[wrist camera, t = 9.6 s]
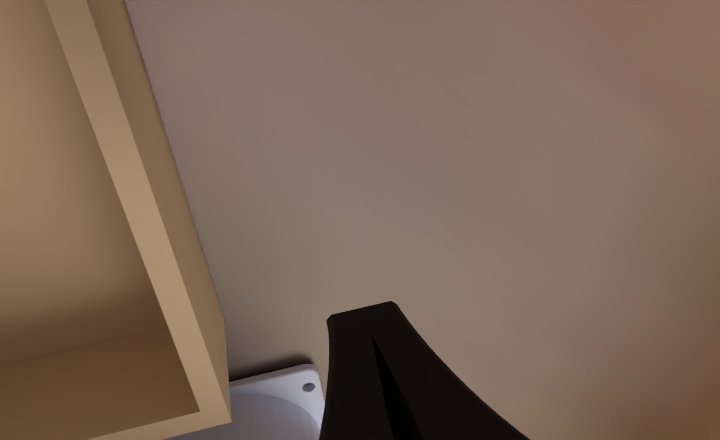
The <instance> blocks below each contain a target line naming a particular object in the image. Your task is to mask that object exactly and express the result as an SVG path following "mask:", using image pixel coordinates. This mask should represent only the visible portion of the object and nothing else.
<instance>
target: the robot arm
mask: <svg viewBox="0 0 720 440" xmlns="http://www.w3.org/2000/svg"><path fill="white" fill-rule="evenodd" d="M326 321H327V326H328V333H329V372H328V381H327V391H326V400H325V402H324V397H323V393H322V388H321V384H320V379H319V375H318V370H317V368H316V367H315V366H314V365H312V364H302V365H298V366H294V367H290V368H286V369H282V370H277V371H273V372H269V373H265V374H261V375H257V376H253V377H249V378H245V379H240V380H236V381H232V382H229V391H230V405H231V419H232V422H230V423H226V424H222V425H218V426H214V427H210V428H206V429H202V430H198V431H194V432H190V433H186V434H182V435H178V436H174V437H170V438H166V439H162V440H530V439H529V438H527V437H526V436H525V435H523V434H522V433H521V432H519V431H518V430H517V429H516V428H514V427H513V426H512V425H511V424H509V423H508V422H507V421H506V420H504V419H503V418H502V417H501V416H500V415H498V414H497V413H496V412H495V411H494V410H493V409H491V408H490V407H489V406H488V405H487V404H486V403H485V402H483V401H482V400H481V399H480V398H479V397H478V396H477V395H476V394H475V393H474V392H473V391H472V390H471V389H470V388H468V387H467V386H466V385H465V384H464V383H463V382H462V381H461V380H460V379H459V378H458V377H457V376H456V375H455V374H454V373H453V372H452V371H451V370H450V368H449V367H448V366H447V365H446V364H445V363H444V362H443V361H442V360H441V359H440V358H439V357H438V356H437V355H436V354H435V352H434V351H433V350H432V349H431V348H430V347H429V346H428V345H427V343H426V342H425V341H424V340H423V339H422V337H421V336H420V335H419V334H418V333H417V331H416V330H415V329H414V328H413V326H412V325H411V324H410V322H409V321H408V320H407V318H406V317H405V316H404V314H403V313H402V311H401V310H400V308H399V307H398V305H397V304H396V303H394V302H392V301H389V302H384V303H380V304H376V305H372V306H367V307H363V308H359V309H354V310H350V311H346V312H342V313H337V314H333V315H331V316H330V317H329V318H328V319H327V320H326ZM306 383H311V384H309V385H304V384H306Z"/></svg>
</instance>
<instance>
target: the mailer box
mask: <svg viewBox="0 0 720 440" xmlns="http://www.w3.org/2000/svg"><path fill="white" fill-rule="evenodd" d="M230 422H232V419H231V405H230V391H229V377H228V362H227V348H226V334H225V320H224V317H223V313H222V310H221V307H220V304H219V301H218V297H217V294H216V291H215V288H214V285H213V281H212V278H211V275H210V272H209V269H208V265H207V262H206V259H205V256H204V253H203V250H202V246H201V243H200V240H199V237H198V234H197V230H196V227H195V224H194V221H193V218H192V214H191V211H190V208H189V205H188V202H187V199H186V195H185V192H184V189H183V186H182V183H181V179H180V176H179V173H178V170H177V167H176V163H175V160H174V157H173V154H172V151H171V148H170V144H169V141H168V138H167V135H166V132H165V128H164V125H163V122H162V119H161V116H160V112H159V109H158V106H157V103H156V100H155V97H154V93H153V90H152V87H151V84H150V81H149V77H148V74H147V71H146V68H145V65H144V61H143V58H142V55H141V52H140V49H139V46H138V42H137V39H136V36H135V33H134V30H133V26H132V23H131V20H130V17H129V14H128V10H127V7H126V4H125V1H124V0H0V440H162V439H166V438H170V437H174V436H178V435H182V434H186V433H190V432H194V431H198V430H202V429H206V428H210V427H214V426H218V425H222V424H226V423H230Z"/></svg>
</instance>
